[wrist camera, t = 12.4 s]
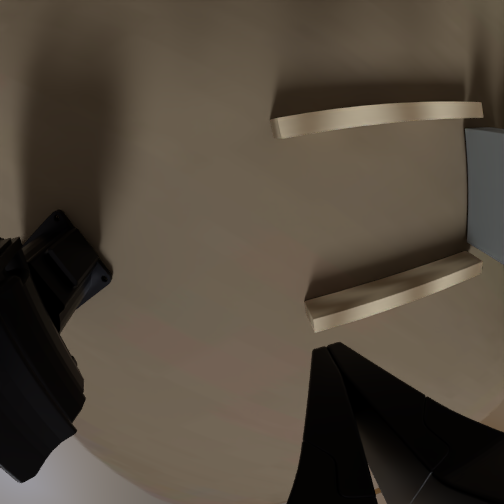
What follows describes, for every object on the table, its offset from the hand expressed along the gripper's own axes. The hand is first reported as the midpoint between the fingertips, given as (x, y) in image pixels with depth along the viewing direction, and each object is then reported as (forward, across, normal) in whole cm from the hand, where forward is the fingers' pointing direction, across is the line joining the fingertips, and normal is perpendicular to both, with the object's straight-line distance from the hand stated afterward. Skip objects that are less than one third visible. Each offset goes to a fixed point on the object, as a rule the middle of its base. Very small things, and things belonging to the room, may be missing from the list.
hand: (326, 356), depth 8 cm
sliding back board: (+13, -19, +1) cm, 23 cm away
